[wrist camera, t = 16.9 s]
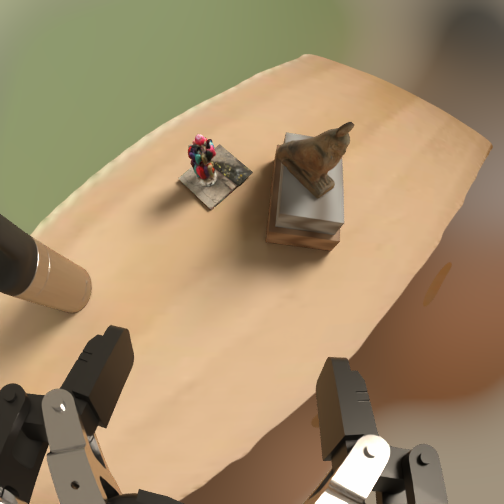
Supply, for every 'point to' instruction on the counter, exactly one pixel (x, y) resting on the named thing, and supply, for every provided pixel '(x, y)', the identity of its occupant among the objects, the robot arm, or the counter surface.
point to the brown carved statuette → (315, 158)
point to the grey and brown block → (304, 209)
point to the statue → (212, 172)
